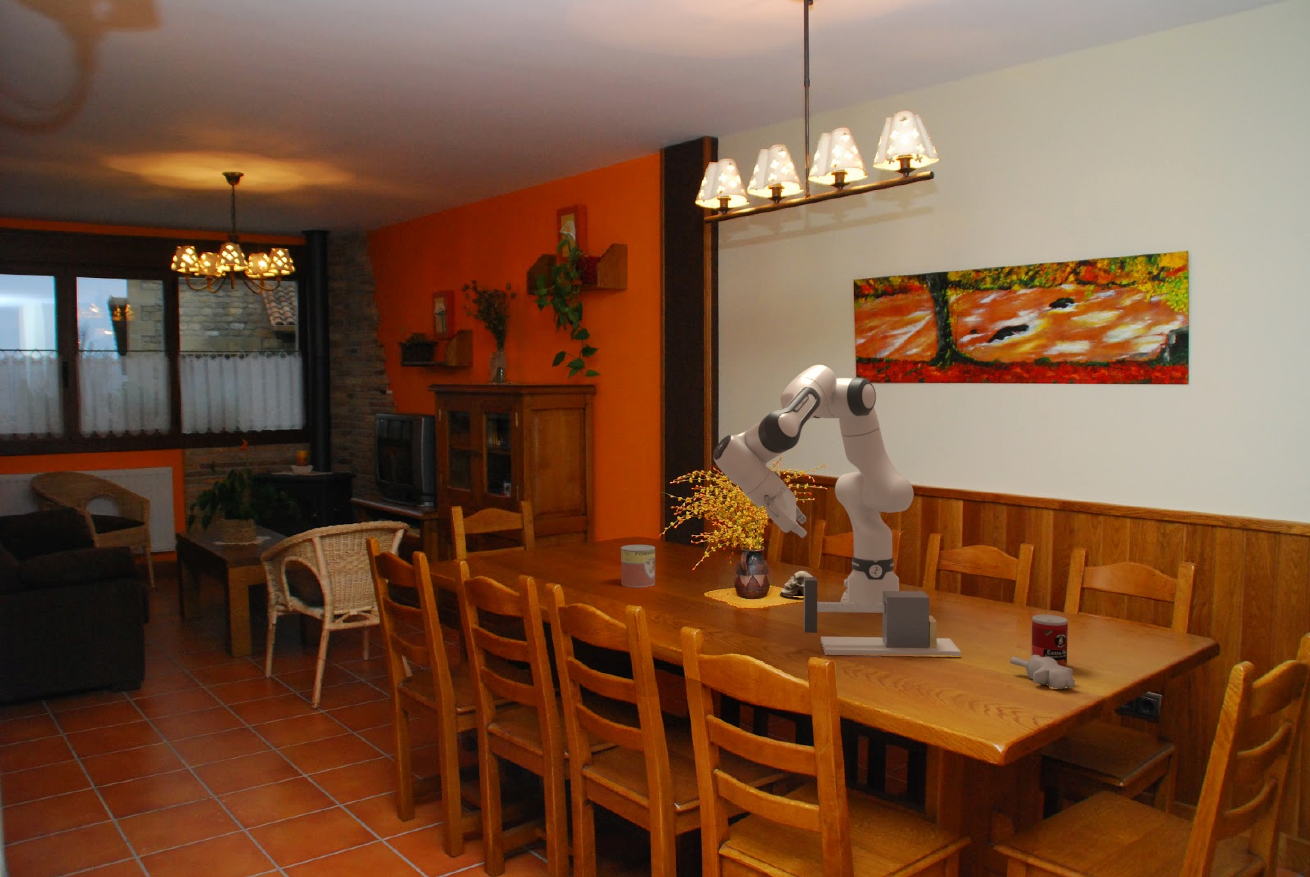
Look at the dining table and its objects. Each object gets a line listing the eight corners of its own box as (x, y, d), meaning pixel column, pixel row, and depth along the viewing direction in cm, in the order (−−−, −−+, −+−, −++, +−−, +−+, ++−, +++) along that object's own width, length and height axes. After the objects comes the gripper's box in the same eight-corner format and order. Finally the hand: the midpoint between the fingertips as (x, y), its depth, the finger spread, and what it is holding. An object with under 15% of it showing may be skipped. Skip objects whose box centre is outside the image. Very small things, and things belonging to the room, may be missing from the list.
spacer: (925, 641, 246) (925, 615, 245) (931, 641, 245) (931, 615, 245) (929, 647, 239) (930, 621, 239) (936, 648, 239) (936, 621, 239)
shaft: (803, 628, 246) (803, 577, 246) (915, 630, 244) (916, 578, 244) (804, 632, 242) (804, 580, 242) (918, 634, 240) (919, 581, 240)
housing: (882, 646, 247) (882, 590, 246) (923, 646, 246) (923, 591, 245) (886, 653, 240) (887, 597, 239) (928, 654, 239) (929, 597, 238)
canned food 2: (1045, 671, 225) (1046, 623, 224) (1023, 661, 232) (1024, 615, 232) (1074, 668, 227) (1075, 621, 226) (1051, 659, 234) (1052, 613, 234)
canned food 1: (643, 588, 316) (643, 551, 316) (614, 585, 322) (614, 548, 322) (661, 582, 326) (661, 546, 325) (633, 579, 332) (632, 543, 331)
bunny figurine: (1048, 675, 208) (1006, 649, 223) (1046, 698, 209) (1004, 670, 224) (1086, 672, 211) (1042, 645, 225) (1084, 694, 212) (1040, 667, 226)
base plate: (820, 642, 250) (820, 636, 250) (949, 644, 248) (949, 638, 248) (825, 655, 238) (825, 649, 238) (960, 657, 236) (960, 651, 236)
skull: (777, 596, 299) (779, 567, 306) (780, 613, 307) (782, 584, 314) (817, 596, 297) (818, 567, 303) (820, 613, 304) (820, 585, 311)
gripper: (774, 495, 234) (814, 535, 235) (775, 469, 253) (813, 506, 255) (755, 512, 236) (795, 552, 237) (757, 484, 255) (795, 521, 256)
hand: (804, 528), depth 246 cm, fingers open, 8 cm apart
